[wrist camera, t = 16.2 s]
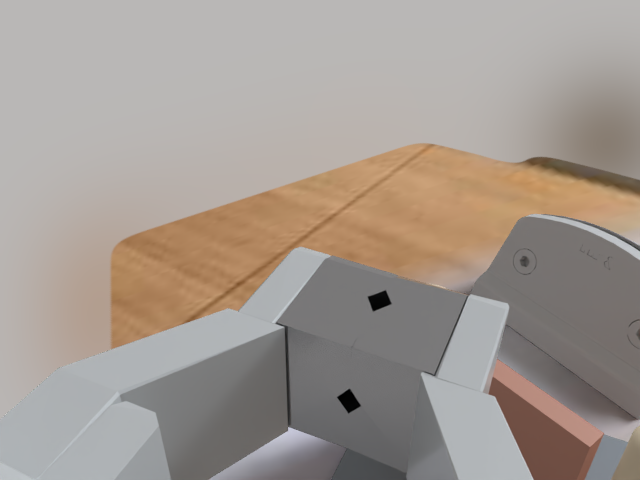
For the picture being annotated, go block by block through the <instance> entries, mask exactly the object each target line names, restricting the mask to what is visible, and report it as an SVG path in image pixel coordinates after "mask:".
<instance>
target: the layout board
mask: <svg viewBox="0 0 640 480" xmlns="http://www.w3.org/2000/svg"><path fill="white" fill-rule="evenodd" d="M627 444H628V442H625V441H622V440H619V439H616V438H613V437H610V436H607V435H603V438H602V440H601V442H600V445H599V447H598V449H597V452H596V454H595V457H594V459H593V461H592V464H591V466H590V468H589V471H588V473H587V475H586V478H585V480H611V479H612V477H613V474H614V472H615V470H616V468H617V466H618V464H619V461H620V459H621V457H622V455H623V453H624V451H625V449H626V446H627ZM406 475H407V473H405V472H402V471H400V470H398V469H395V468H393V467H390V466H388V465H386V464H383V463H381V462H379V461H376V460H374V459H372V458H369V457H367V456H365V455H362V454H360V453H357V452H355V451H353V450H350V449H348V448H347V450H346V452H345V454H344V456H343V458H342V460H341V462H340V464H339V465H338V467H337V469H336V471H335V473H334V475H333V477H332V479H331V480H407V478H406Z"/></svg>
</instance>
